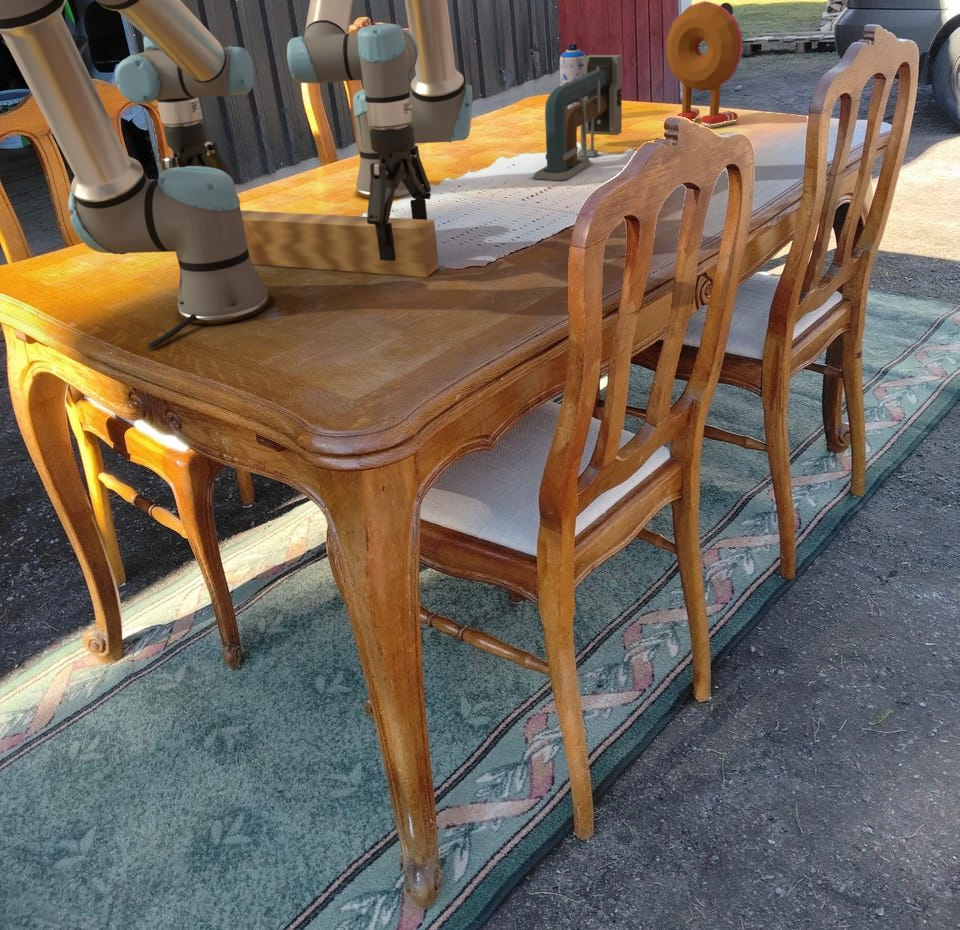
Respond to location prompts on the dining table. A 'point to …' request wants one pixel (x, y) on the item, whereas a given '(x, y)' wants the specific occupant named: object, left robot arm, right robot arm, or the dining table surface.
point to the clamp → (582, 116)
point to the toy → (705, 56)
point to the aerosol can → (572, 66)
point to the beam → (339, 243)
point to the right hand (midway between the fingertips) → (405, 247)
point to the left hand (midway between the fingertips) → (207, 235)
